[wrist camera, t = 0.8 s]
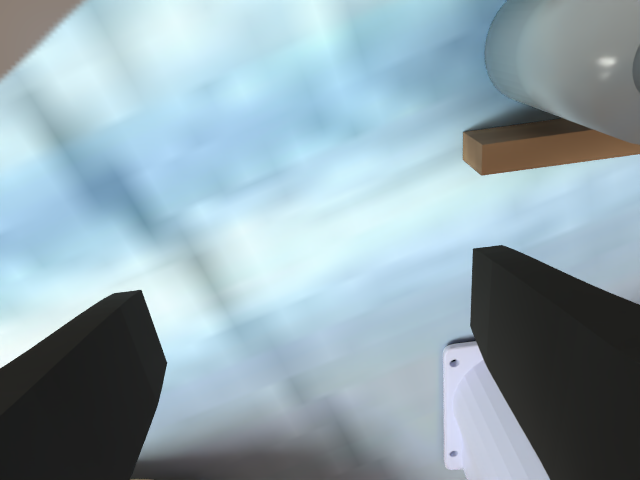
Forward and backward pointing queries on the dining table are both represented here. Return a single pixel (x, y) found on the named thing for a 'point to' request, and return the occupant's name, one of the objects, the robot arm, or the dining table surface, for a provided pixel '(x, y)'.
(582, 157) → the cradle
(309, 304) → the dining table surface
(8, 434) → the robot arm
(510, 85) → the bottle
